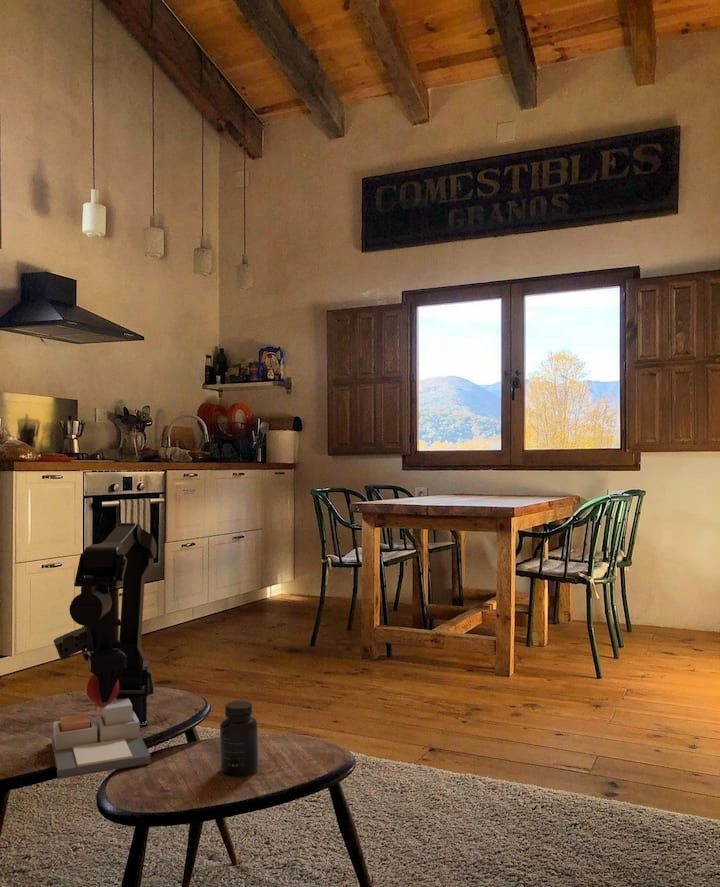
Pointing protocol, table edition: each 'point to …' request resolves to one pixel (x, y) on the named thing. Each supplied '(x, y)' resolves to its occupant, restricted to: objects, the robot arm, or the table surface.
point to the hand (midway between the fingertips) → (102, 697)
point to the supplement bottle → (238, 740)
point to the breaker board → (98, 748)
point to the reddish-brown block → (74, 722)
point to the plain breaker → (117, 712)
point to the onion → (95, 693)
